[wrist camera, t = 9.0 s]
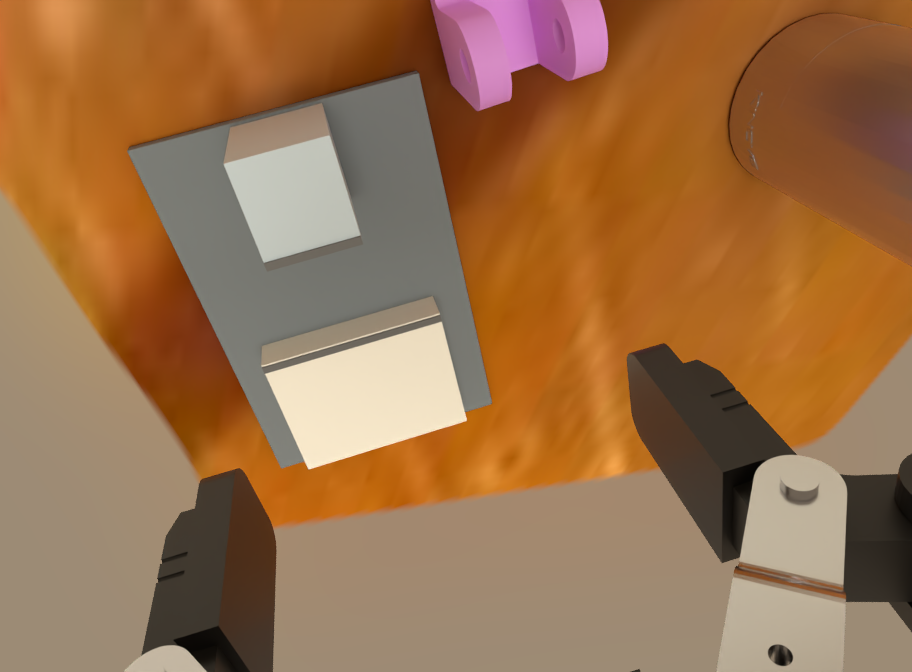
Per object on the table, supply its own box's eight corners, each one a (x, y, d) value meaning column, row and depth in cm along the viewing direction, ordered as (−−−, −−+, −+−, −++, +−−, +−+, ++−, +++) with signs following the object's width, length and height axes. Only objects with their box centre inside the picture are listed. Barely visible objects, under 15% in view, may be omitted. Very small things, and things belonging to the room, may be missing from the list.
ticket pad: (416, 70, 33) (426, 82, 31) (489, 398, 45) (501, 423, 43) (129, 147, 32) (118, 165, 30) (281, 462, 44) (281, 491, 42)
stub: (321, 102, 32) (329, 135, 28) (351, 200, 35) (363, 244, 31) (230, 127, 32) (223, 164, 28) (267, 223, 35) (266, 271, 30)
